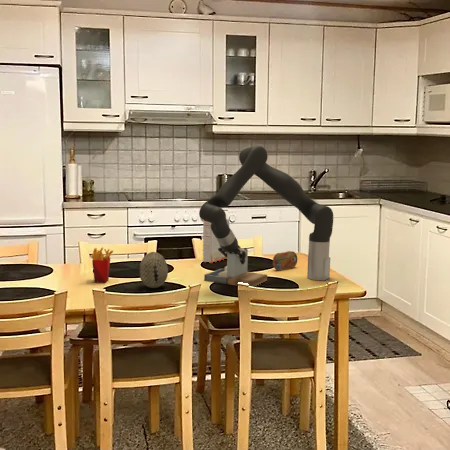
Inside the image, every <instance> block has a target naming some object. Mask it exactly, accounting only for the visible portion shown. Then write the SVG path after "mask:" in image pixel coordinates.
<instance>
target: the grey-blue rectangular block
mask: <svg viewBox="0 0 450 450" xmlns="http://www.w3.org/2000/svg"><path fill="white" fill-rule="evenodd" d="M248 252H249V250H248V249H247V255H246V258H245V263H244V264H241V262H240V260H239V259H238V257H236V255H235V254H232V253H230V254H229V253H227V260H226V266H227V276H228V277H236V276H239V275H241V274H243V273H245V272H248V258H249V257H248V254H249V253H248ZM237 255H238V254H237Z"/></svg>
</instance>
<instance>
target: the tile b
mask: <svg viewBox="0 0 450 450" xmlns="http://www.w3.org/2000/svg"><path fill="white" fill-rule="evenodd" d="M218 274H219V277H225V278H227V277H228V276H227V271H223V272H221V273H218Z"/></svg>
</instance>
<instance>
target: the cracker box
mask: <svg viewBox="0 0 450 450" xmlns="http://www.w3.org/2000/svg"><path fill="white" fill-rule="evenodd" d="M226 220H227V224H228V226H229V227H230V219H229V218H226ZM202 221H203V229H202V230H203V232H202V233H203V240H202V242H203V243H202V248H203V249H202V250H203V251H202V255H203V257H202V258H203V259H202V261H203V263H206V262H209V263H208V264H214V263H213V262H215V263H218V262H217V261H219V262H222V261H221V260H223V261H225V260H224V259H227V257H225V256H224V255H223V254H222V253H221V252H220V251H218V248H219V246H220V245H219V243H218V242H217V240H216V237H215V235H214V234H213V232H212V230H211V223H210V222H207V221H204V220H202ZM225 254H226V252H225Z"/></svg>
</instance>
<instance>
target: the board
mask: <svg viewBox="0 0 450 450" xmlns="http://www.w3.org/2000/svg"><path fill="white" fill-rule="evenodd" d="M265 281H267V282H268V274H265V273H258V272H252V271H247V272H245V273H243V274H241V275H239V276H236V277H227V284H226V285H230V286H237V283H238V282H243V283H248V284H250V286H256V287H258V286H260V285H262V284H261V283H263V282H265ZM265 283H266V282H265ZM259 284H260V285H259ZM263 284H264V283H263ZM257 285H258V286H257ZM237 287H238V286H237Z"/></svg>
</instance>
